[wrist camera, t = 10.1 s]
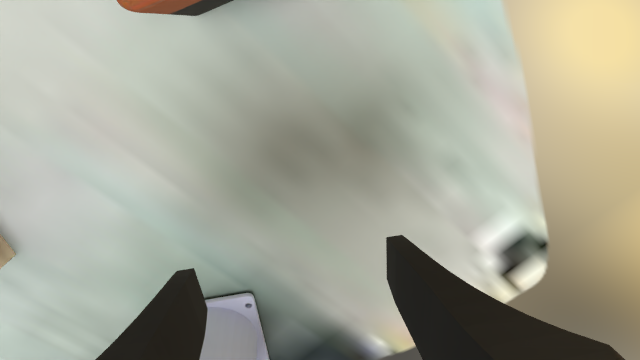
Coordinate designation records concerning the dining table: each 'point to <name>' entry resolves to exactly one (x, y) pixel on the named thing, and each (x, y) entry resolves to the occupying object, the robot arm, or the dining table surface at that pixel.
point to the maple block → (5, 252)
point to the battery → (172, 6)
